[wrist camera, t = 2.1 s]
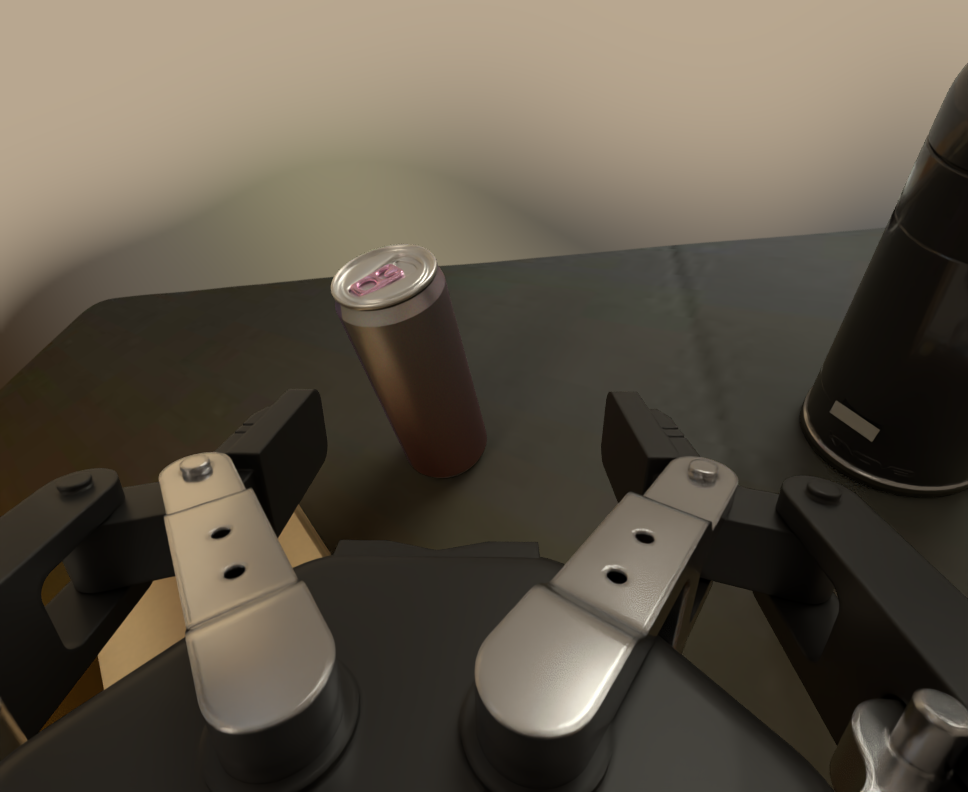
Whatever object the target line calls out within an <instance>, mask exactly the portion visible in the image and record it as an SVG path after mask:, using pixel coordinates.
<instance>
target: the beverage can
mask: <svg viewBox="0 0 968 792" xmlns="http://www.w3.org/2000/svg"><path fill="white" fill-rule="evenodd" d="M331 292H332V295H333V297H334V299H335V308H336V312H337V314H338V316H339V318H340V321H341V323H342V325H343V327H344V329H345V331H346V333H347V335H348V337H349V339H350V341H351V343H352V345H353V347H354V349H355V352H356V354H357V356H358V358H359V360H360V362H361V364H362V366H363V368H364V370H365V372H366V374H367V376H368V378H369V380H370V383H371V385H372V387H373V389H374V391H375V393H376V395H377V397H378V399H379V401H380V403H381V405H382V407H383V409H384V411H385V414H386V416H387V418H388V420H389V422H390V424H391V426H392V428H393V430H394V432H395V434H396V436H397V438H398V440H399V442H400V445H401V447H402V449H403V451H404V453H405V455H406V457H407V459H408V461H409V463H410V464H411V466H412V467H413V468H414V469H415V470H417V471H418V472H420V473H422V474H424V475H427V476H430V477H435V478H449V477H453V476H457V475H459V474H462V473H464V472H465V471H467V470H468V469H470V468H471V467H472V466H473V465H474V464H475V463H476V462H477V461H478V460H479V458H480V457H481V455H482V453H483V451H484V449H485V446H486V442H487V434H486V430H485V426H484V422H483V419H482V415H481V411H480V407H479V404H478V400H477V396H476V392H475V389H474V385H473V381H472V377H471V374H470V370H469V366H468V362H467V359H466V355H465V351H464V347H463V344H462V340H461V336H460V332H459V329H458V325H457V321H456V317H455V314H454V310H453V306H452V302H451V299H450V295H449V291H448V287H447V284H446V280H445V276H444V274H443V272H442V271H441V269H440V268H439V266H438V265H437V261H436V258H435V256H434V255H433V253H432V252H431V251H429V250H428V249H426V248H424V247H421V246H417V245H411V244H396V245H389V246H384V247H380V248H376V249H373V250H370V251H368V252H366V253H363V254H361V255H359V256H357V257H356V258H354V259H352V260H351V261H349V262H348V263H347V264H345V265H344V266H343V267H342V268H341V269H340V270H339V271H338V272H337V273H336V275H335V276H334V278H333V280H332V283H331Z"/></svg>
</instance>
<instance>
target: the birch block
mask: <svg viewBox="0 0 968 792" xmlns="http://www.w3.org/2000/svg"><path fill="white" fill-rule="evenodd" d="M278 540H279V542H280V544H281V546H282V548H283V550H284V552H285V554H286V556H287V558H288V560H289V562H290V564H291V566H292V568H294V567H296V566H298V565H301V564H303V563H305V562H308V561H311V560H314V559H317V558H321V557H325V556H329V555H331V554H330V552H329V550H328V549H327V547H326V546H325V544H324V543H323V541H322V540H321V538H320V536H319V535H318V533H317V532H316V530H315V529H314V527H313V526H312V524H311V523H310V521H309V519H308V518H307V516H306V515H305V513H304V512H303V510H302V509H301V507H300V506H299V504H298V506H297V508H296V509H295V511H294V513H293V514H292V516H291V518H290V519H289V521H288V523H287V524H286V526H285V528H284V529H283V531H282V533H281V534H280V536H279V538H278ZM185 631H186V626H185V621H184V616H183V611H182V606H181V601H180V596H179V591H178V586H177V581H176V576H174V577H169V578H164V579H160V580H155V581H153V582H152V584H151V586H150V588H149V589H148V590H147V591H146V593H145V594H144V595H143V597H142V598H141V599H140V601H139V602H138V603H137V604H136V606H135V607H134V608H133V610H132V611H131V612H130V614H129V615H128V616H127V618H126V619H125V620H124V621H123V623H122V624H121V625H120V627H119V628H118V629H117V631H116V632H115V633H114V635H113V636H112V637H111V638H110V640H109V641H108V642H107V644H106V645H105V646H104V648H103V649H102V650H101V651H100V653H99V654H98V659H99V665H100V670H101V676H102V681H103V687H104V690H105V689H106V688H108V687H109V686H111V685H112V684H114V683H115V682H117V681H118V680H120V679H122V678H123V677H125V676H126V675H128V674H129V673H131V672H132V671H134V670H135V669H137V668H138V667H140V666H141V665H143V664H144V663H146V662H148V661H149V660H151V659H152V658H154V657H155V656H157V655H158V654H160V653H161V652H163V651H164V650H166V649H167V648H169V647H170V646H172V645H173V644H175V643H176V642H178V641H180V640H181V639H183V638H184V637H185Z"/></svg>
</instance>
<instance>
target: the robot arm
mask: <svg viewBox="0 0 968 792" xmlns="http://www.w3.org/2000/svg"><path fill="white" fill-rule="evenodd" d="M800 423H801V427H802V430H803V433H804V435H805V437H806V439H807V441H808V442H809V444H810V445H811V447H812V448H813V449H814V450H815V451H816V452H817V454H818V455H819V456H820V457H821V458H823V459H824V460H825V461H826V462H827V463H828V464H830V465H831V466H832V467H834V468H835V469H836V470H838V471H839V472H841V473H843V474H844V475H846V476H848V477H850V478H852V479H854V480H856V481H858V482H860V483H862V484H864V485H867V486H869V487H872V488H875V489H878V490H881V491H885V492H888V493H893V494H897V495H903V496H910V497H941V496H947V495H951V494H955V493H958V492H961V491H963V490H965V489H967V488H968V63H967V64H966V65H965V67H964V68H963V69H962V71H961V72H960V73H959V74H958V76H957V77H956V78H955V80H954V82H953V84H952V86H951V87H950V89H949V91H948V93H947V95H946V97H945V99H944V101H943V103H942V106H941V108H940V110H939V112H938V114H937V116H936V119H935V121H934V123H933V125H932V127H931V130H930V132H929V135H928V136H927V138H926V140H925V142H924V145H923V147H922V149H921V151H920V153H919V156H918V158H917V160H916V162H915V165H914V166H913V169H912V171H911V173H910V175H909V177H908V180H907V182H906V184H905V186H904V188H903V190H902V193H901V195H900V197H899V199H898V202H897V205H896V207H895V209H894V211H893V213H892V215H891V218H890V220H889V222H888V224H887V226H886V228H885V231H884V233H883V235H882V237H881V239H880V241H879V244H878V246H877V248H876V250H875V252H874V255H873V257H872V259H871V261H870V263H869V265H868V268H867V270H866V272H865V274H864V276H863V279H862V281H861V283H860V285H859V287H858V289H857V292H856V294H855V296H854V298H853V300H852V302H851V305H850V307H849V309H848V311H847V313H846V316H845V318H844V320H843V322H842V324H841V326H840V329H839V331H838V333H837V335H836V337H835V339H834V342H833V344H832V346H831V348H830V350H829V353H828V355H827V357H826V359H825V361H824V363H823V365H822V367H821V369H820V372H819V374H818V376H817V378H816V381H815V383H814V385H813V386H812V388H811V389H810V390H809V392H808V394H807V396H806V398H805V400H804V402H803V405H802V407H801V411H800ZM326 454H327V436H326V429H325V423H324V416H323V409H322V403H321V397H320V394H319V392H318V391H317V390H316V389H288V390H287V391H286V392H285V393H284V394H283V395H282V396H281V397H280V398H279V399H278V400H277V401H276V402H275V403H274V404H273V405H272V406H268V407H266V408H264V409H262V410H260V411H258V412H256V413H254V414H253V415H252V416H251V417H249V418H248V419H247V420H246V421H245V422H244V423H243V426H240V427H239V428H238V429H237V430H236V431H235V434H232V435H231V436H230V437H229V438H228V439H227V440H226V441H225V442H224V443H223V444H222V445H221V446H220V447H219V448H218V449H216V450H215V451H214V452H208V453H200V454H195V455H191V456H188V457H185V458H182V459H180V460H177V461H175V462H173V463H172V464H170V465H169V466H167V467H166V468H165V469H164V470H162V472H161V473H160V475H159V482H155V483H149V484H143V485H137V486H131V487H125V488H122V486H121V483H120V480H119V477H118V475H117V473H116V472H115V471H114V470H111V469H105V468H97V469H88V470H83V471H78V472H74V473H71V474H68V475H65V476H63V477H60V478H58V479H55V480H53V481H51V482H49V483H48V484H46V485H44V486H43V487H41V488H40V489H39V490H37V491H36V492H34V493H33V494H32V495H30V496H29V497H28V498H26V499H25V500H24V501H22V502H21V503H19V504H18V505H17V506H15V507H14V508H13V509H11V510H10V511H8V512H7V513H6V514H4V515H3V516H2V517H0V792H834V790H835V792H968V599H967V598H966V597H965V596H964V595H963V594H962V593H961V592H960V591H959V590H958V589H957V588H956V587H955V586H953V585H952V584H951V583H950V582H949V581H948V580H947V579H946V578H945V577H944V576H943V575H942V574H941V573H940V572H939V571H938V570H937V569H935V568H934V567H933V566H932V565H931V564H930V563H929V562H928V561H927V560H926V559H925V558H924V557H923V556H922V555H921V554H920V553H918V552H917V551H916V550H915V549H914V548H913V547H912V546H911V545H910V544H909V543H908V542H907V541H906V540H905V539H904V538H903V537H902V536H900V535H899V534H898V533H897V532H896V531H895V530H894V529H893V528H892V527H891V526H890V525H889V524H888V523H887V522H886V521H885V520H883V519H882V518H881V517H880V516H879V515H878V514H877V513H876V512H875V511H874V510H873V509H872V508H871V507H870V506H869V505H868V504H866V503H865V502H864V501H863V500H862V499H861V498H860V497H859V496H858V495H857V494H855V493H854V492H853V491H851V490H850V489H848V488H846V487H844V486H842V485H840V484H838V483H835V482H832V481H830V480H826V479H823V478H819V477H813V476H792V477H789V478H787V479H785V480H784V481H783V483H782V487H781V490H780V493H779V494H776V493H771V492H765V491H760V490H755V489H750V488H745V487H742V486H738V482H739V481H738V477H737V475H736V474H735V472H733V471H732V470H731V469H730V468H729V467H727V466H725V465H724V464H722V463H719V462H717V461H714V460H711V459H708V458H703V457H700V456H699V454H698V453H697V452H696V450H695V449H694V448H693V446H692V445H691V444H690V442H689V441H688V440H687V438H684V435H683V433H682V432H681V431H680V430H678V427H677V425H676V424H675V423H674V421H673V420H672V419H671V418H670V417H669V416H667V415H665V414H664V413H662V412H661V411H659V410H657V409H649V408H648V407H647V405H646V404H645V402H644V401H643V399H642V398H641V397H640V395H639V394H638V392H609V393H608V395H607V399H606V407H605V416H604V425H603V434H602V443H601V454H602V462H603V465H604V468H605V471H606V473H607V476H608V478H609V481H610V483H611V486H612V488H613V491H614V494H615V496H616V499H617V501H618V505H617V506H616V507H615V508H614V509H613V510H612V511H611V513H610V514H609V515H608V516H607V517H606V518H605V519H604V521H603V522H602V523H601V524H600V525H599V526H598V527H597V529H596V530H595V531H594V532H593V533H592V534H591V535H590V537H589V538H588V539H587V540H586V541H585V542H584V544H583V545H582V546H581V547H580V548H579V549H578V550H577V552H576V553H575V554H574V555H573V556H572V557H571V558H570V560H569V561H568V562H567V563H566V564H563V563H560V562H557V561H554V560H551V559H548V558H543V557H540V555H539V547H538V542H483V543H478V544H472V545H466V546H460V547H454V548H448V549H442V550H433V549H428V548H423V547H418V546H413V545H408V544H403V543H398V542H393V541H389V540H340V541H339V543H338V545H337V548H336V550H335V552H334V555H329V556H325V557H321V558H317V559H314V560H311V561H308V562H305V563H303V564H301V565H298V566H296V567H294V568H292V566H291V564H290V562H289V560H288V558H287V556H286V554H285V552H284V550H283V548H282V546H281V544H280V542H279V540H278V538H279V536H280V534H281V533H282V531H283V529H284V528H285V526H286V524H287V523H288V521H289V519H290V518H291V516H292V514H293V513H294V511H295V509H296V508H297V506H298V504H299V503H300V501H301V499H302V498H303V496H304V494H305V493H306V491H307V489H308V488H309V486H310V484H311V483H312V481H313V479H314V478H315V476H316V474H317V473H318V471H319V469H320V468H321V466H322V464H323V463H324V461H325V458H326ZM61 561H62V562H63V564H64V566H65V568H66V570H67V573H68V575H69V577H70V579H71V581H70V582H69V583H68V584H67V585H66V586H65V587H64V588H63V589H62V590H61V591H60V592H59V593H58V594H57V595H56V596H55V597H54V598H53V599H52V600H51V601H50V602H49V603H48V604H47V605H46V606H45V607H44V605H43V603H42V600H41V589H42V586H43V583H44V581H45V579H46V577H47V576H48V574H49V573H50V572H51V571H52V570H53V569H54V568H55V567H56V566H57V565H58V564H59V563H60V562H61ZM174 576H176V581H177V586H178V591H179V596H180V601H181V606H182V611H183V616H184V621H185V626H186V631H185V637H184V638H183V639H181V640H180V641H178V642H176V643H175V644H173V645H172V646H170V647H169V648H167V649H166V650H164V651H163V652H161V653H160V654H158V655H157V656H155V657H154V658H152V659H151V660H149V661H148V662H146V663H144V664H143V665H141V666H140V667H138V668H137V669H135V670H134V671H132V672H131V673H129V674H128V675H126V676H125V677H123V678H122V679H120V680H118V681H117V682H115V683H114V684H112V685H111V686H109V687H108V688H106V689H105V690H103V691H102V692H100V693H99V694H97V695H96V696H94V697H92V698H91V699H89V700H88V701H86V702H85V703H83V704H82V705H80V706H79V707H77V708H76V709H74V710H73V711H71V712H70V713H68V714H67V715H65V716H63V717H62V718H60V719H59V720H57V721H56V722H54V723H53V724H51V725H50V726H48V727H47V728H45V729H44V730H42V731H41V732H39V731H40V730H41V728H42V727H43V726H44V725H45V723H46V722H47V721H48V719H49V718H50V717H51V715H52V714H53V713H54V711H55V710H56V709H57V708H58V706H59V705H60V704H61V702H62V701H63V700H64V698H65V697H66V696H67V695H68V693H69V692H70V691H71V689H72V688H73V687H74V685H75V684H76V683H77V681H78V680H79V679H80V678H81V676H82V675H83V674H84V672H85V671H86V670H87V668H88V667H89V666H90V665H91V663H92V662H93V661H94V659H95V658H96V657H97V655H98V654H99V653H100V651H101V650H102V649H103V648H104V646H105V645H106V644H107V642H108V641H109V640H110V638H111V637H112V636H113V635H114V633H115V632H116V631H117V629H118V628H119V627H120V625H121V624H122V623H123V621H124V620H125V619H126V618H127V616H128V615H129V614H130V612H131V611H132V610H133V608H134V607H135V606H136V604H137V603H138V602H139V601H140V599H141V598H142V597H143V595H144V594H145V593H146V591H147V590H148V589H149V588H150V586H151V584H152V582H153V581H155V580H160V579H164V578H169V577H174ZM713 581H715V582H720V583H724V584H728V585H732V586H736V587H740V588H744V589H748V590H752V591H753V594H754V597H755V598H756V600H757V602H758V604H759V606H760V607H761V609H762V611H763V613H764V615H765V616H766V618H767V620H768V622H769V624H770V625H771V627H772V629H773V631H774V633H775V635H776V636H777V638H778V640H779V642H780V644H781V645H782V647H783V649H784V651H785V653H786V654H787V656H788V658H789V660H790V662H791V663H792V665H793V667H794V669H795V671H796V672H797V674H798V676H799V678H800V680H801V682H802V683H803V685H804V687H805V689H806V691H807V692H808V694H809V696H810V698H811V700H812V701H813V703H814V705H815V707H816V709H817V710H818V712H819V714H820V716H821V718H822V719H823V721H824V723H825V725H826V727H827V729H828V730H829V732H830V734H831V736H832V738H833V739H834V741H835V743H836V745H837V748H836V750H835V752H834V754H833V756H832V758H831V762H830V777H831V782H832V785H833V787H834V790H833V789H832V788H831V787H830V785H829V784H828V783H827V781H826V780H825V779H824V778H823V777H822V776H821V775H820V774H819V772H818V771H817V770H816V769H815V768H814V767H813V766H812V765H811V764H810V763H809V762H808V761H807V760H806V759H805V758H804V757H803V756H802V755H801V754H800V753H798V752H797V751H796V750H795V749H794V748H793V747H792V746H791V745H789V744H788V743H787V742H786V741H785V740H783V739H782V738H781V737H780V736H779V735H777V734H776V733H775V732H774V731H773V730H771V729H770V728H769V727H768V726H767V725H765V724H764V723H763V722H762V721H761V720H759V719H758V718H757V717H756V716H755V715H753V714H752V713H751V712H750V711H749V710H747V709H746V708H745V707H744V706H743V705H741V704H740V703H739V702H738V701H737V700H735V699H734V698H733V697H732V696H731V695H729V694H728V693H727V692H726V691H725V690H723V689H722V688H721V687H720V686H719V685H717V684H716V683H715V682H714V681H713V680H711V679H710V678H709V677H708V676H707V675H705V674H704V673H703V672H702V671H701V670H699V669H698V668H697V667H696V666H695V665H693V664H692V663H691V662H690V661H689V660H687V659H686V658H685V657H684V656H683V655H682V652H683V649H684V647H685V644H686V641H687V639H688V637H689V635H690V632H691V630H692V628H693V626H694V624H695V622H696V619H697V617H698V615H699V613H700V611H701V609H702V607H703V604H704V602H705V600H706V598H707V596H708V594H709V591H710V589H711V587H712V584H713ZM834 587H835V589H836V592H837V595H838V598H837V596H836V595H835V594H834V592H833V590H834ZM38 732H39V733H38Z"/></svg>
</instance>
